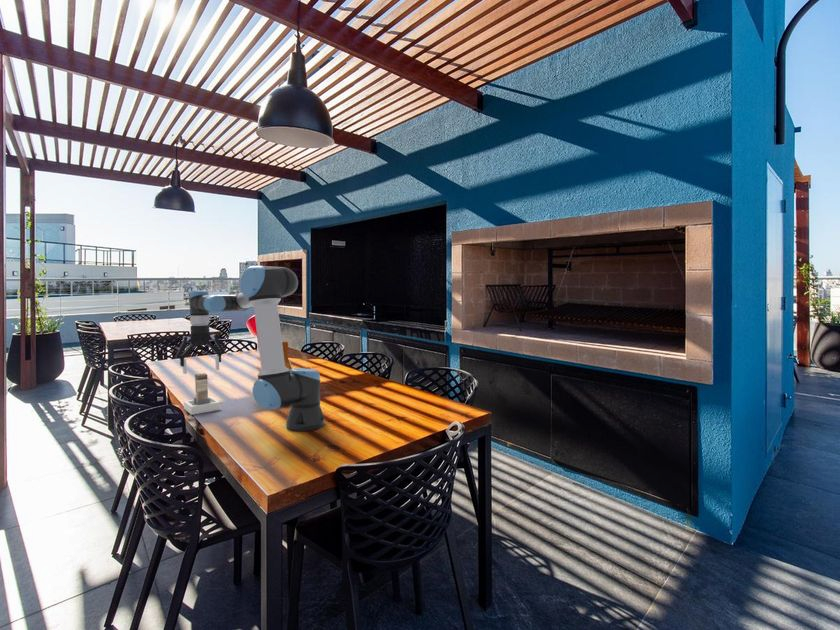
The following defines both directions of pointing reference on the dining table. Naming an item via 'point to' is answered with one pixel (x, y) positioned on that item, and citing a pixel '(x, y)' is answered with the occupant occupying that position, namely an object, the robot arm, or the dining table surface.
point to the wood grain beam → (201, 387)
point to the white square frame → (201, 405)
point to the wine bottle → (286, 355)
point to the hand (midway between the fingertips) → (201, 371)
